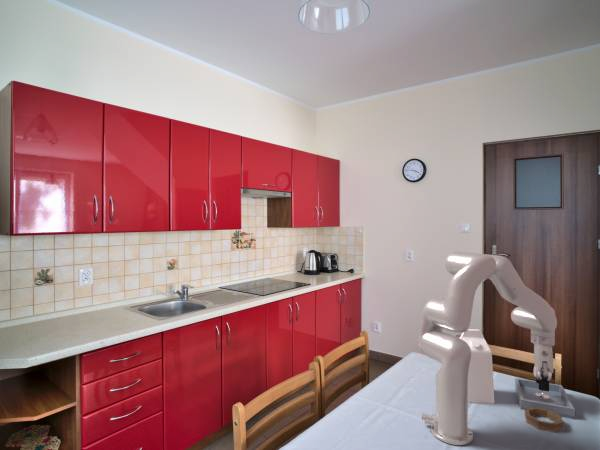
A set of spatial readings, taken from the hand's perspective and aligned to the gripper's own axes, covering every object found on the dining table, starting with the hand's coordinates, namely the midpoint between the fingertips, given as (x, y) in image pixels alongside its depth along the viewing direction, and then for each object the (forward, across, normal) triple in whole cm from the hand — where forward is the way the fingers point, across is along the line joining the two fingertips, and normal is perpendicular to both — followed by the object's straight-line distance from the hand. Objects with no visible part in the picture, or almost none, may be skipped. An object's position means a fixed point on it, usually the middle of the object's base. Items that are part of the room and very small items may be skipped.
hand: (542, 386), depth 137 cm
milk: (+6, -5, +24) cm, 25 cm away
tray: (+6, +1, 0) cm, 6 cm away
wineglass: (+4, 0, 0) cm, 4 cm away
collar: (+6, -16, +2) cm, 17 cm away
